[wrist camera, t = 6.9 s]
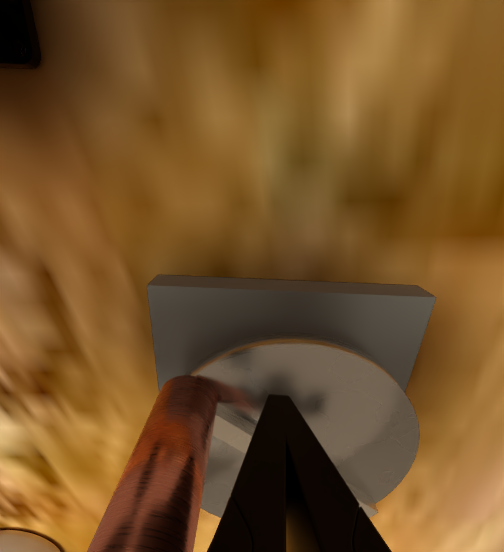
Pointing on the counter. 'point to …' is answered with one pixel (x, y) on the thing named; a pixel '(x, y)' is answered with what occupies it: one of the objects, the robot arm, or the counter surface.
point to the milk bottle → (24, 542)
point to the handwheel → (240, 427)
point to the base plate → (284, 317)
